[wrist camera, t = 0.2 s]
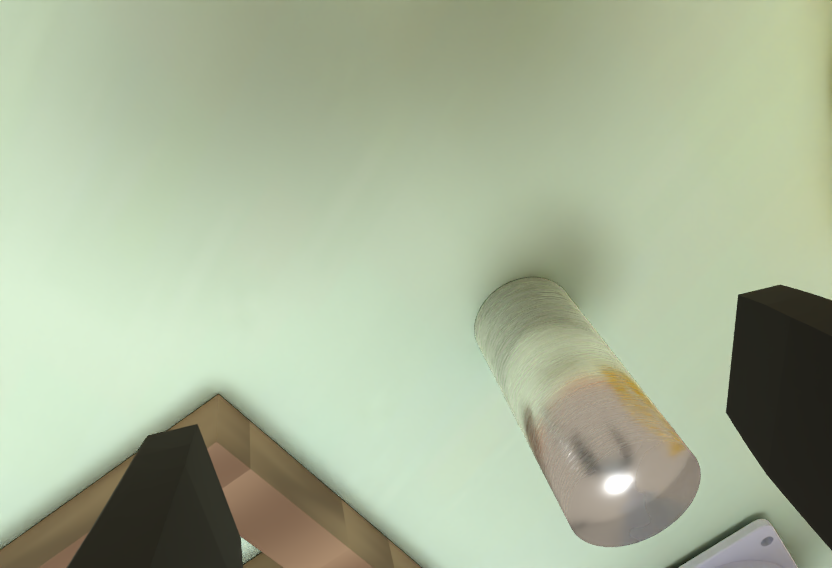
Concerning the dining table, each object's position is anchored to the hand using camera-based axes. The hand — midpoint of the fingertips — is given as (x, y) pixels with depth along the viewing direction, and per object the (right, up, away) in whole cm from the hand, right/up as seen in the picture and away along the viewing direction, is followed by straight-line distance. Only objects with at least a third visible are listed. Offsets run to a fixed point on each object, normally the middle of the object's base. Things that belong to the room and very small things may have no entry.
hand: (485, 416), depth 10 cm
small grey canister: (+2, +1, +12) cm, 12 cm away
